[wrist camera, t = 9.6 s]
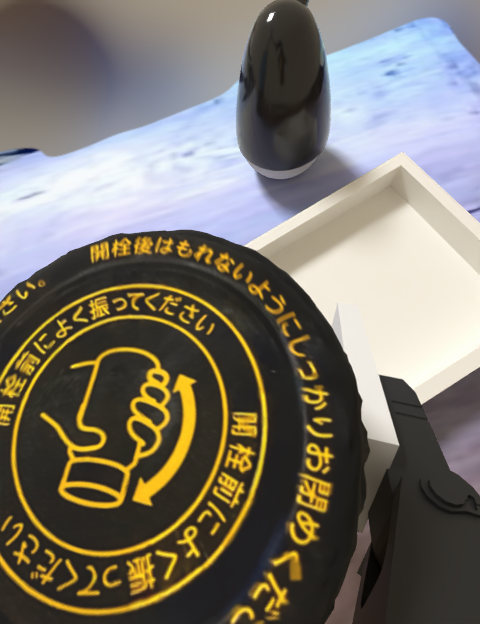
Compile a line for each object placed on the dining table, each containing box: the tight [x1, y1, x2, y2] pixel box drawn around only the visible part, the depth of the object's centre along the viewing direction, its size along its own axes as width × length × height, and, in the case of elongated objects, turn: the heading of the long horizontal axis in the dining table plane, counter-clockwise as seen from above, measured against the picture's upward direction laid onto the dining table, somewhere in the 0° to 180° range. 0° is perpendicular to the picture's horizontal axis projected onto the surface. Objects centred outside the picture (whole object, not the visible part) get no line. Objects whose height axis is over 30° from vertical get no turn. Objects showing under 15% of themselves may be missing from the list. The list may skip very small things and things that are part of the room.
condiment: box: [0, 230, 370, 624], centre depth 9 cm, size 7×8×12 cm
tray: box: [244, 152, 480, 405], centre depth 29 cm, size 20×20×4 cm
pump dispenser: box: [236, 0, 331, 179], centre depth 30 cm, size 10×10×15 cm
